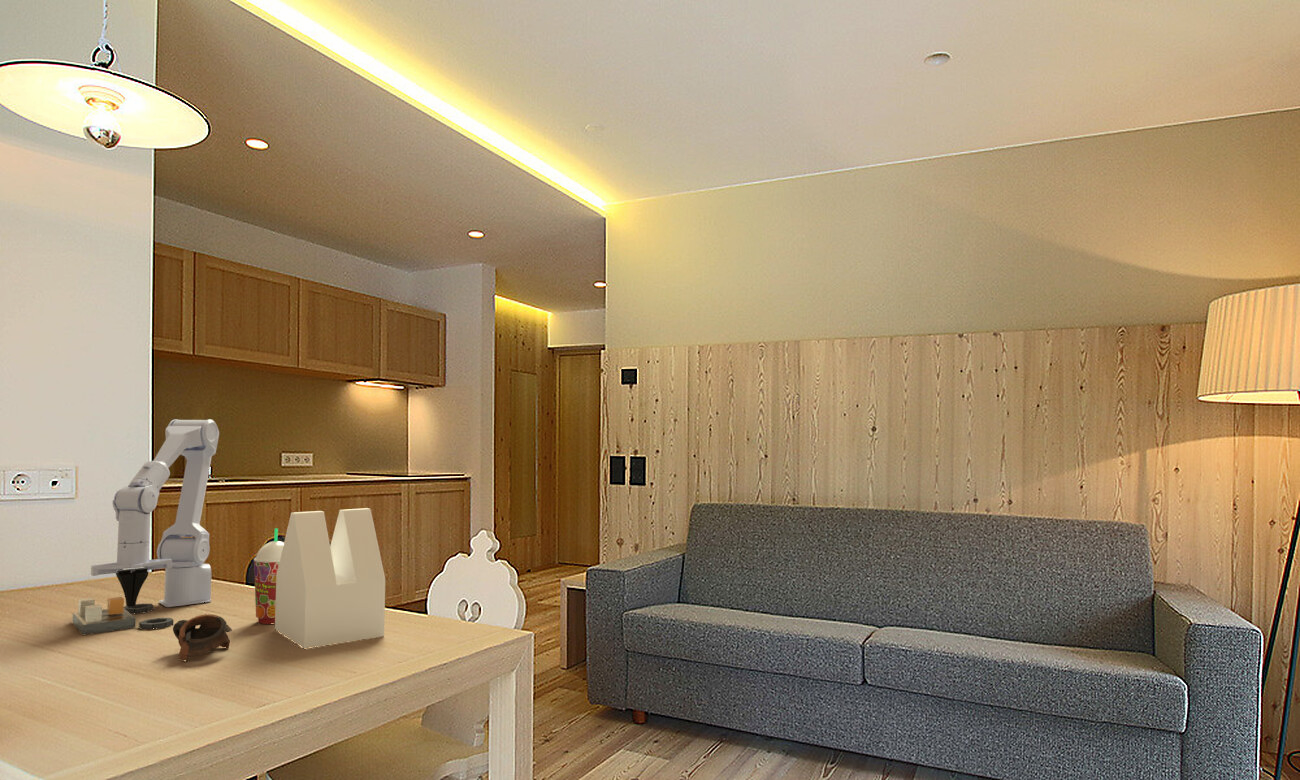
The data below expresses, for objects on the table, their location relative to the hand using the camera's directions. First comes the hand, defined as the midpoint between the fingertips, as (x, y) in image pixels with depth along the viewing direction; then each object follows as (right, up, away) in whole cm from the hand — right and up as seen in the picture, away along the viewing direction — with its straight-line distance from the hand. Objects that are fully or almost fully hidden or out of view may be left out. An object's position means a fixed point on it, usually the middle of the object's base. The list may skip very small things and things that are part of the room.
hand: (130, 605), depth 168 cm
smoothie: (+31, -4, 0) cm, 31 cm away
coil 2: (+8, -3, -4) cm, 10 cm away
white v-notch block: (+47, -4, -9) cm, 48 cm away
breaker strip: (-3, -3, -3) cm, 6 cm away
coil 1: (-5, -4, +10) cm, 12 cm away
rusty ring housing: (+29, -3, -25) cm, 39 cm away
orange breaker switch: (-2, -1, -2) cm, 3 cm away
